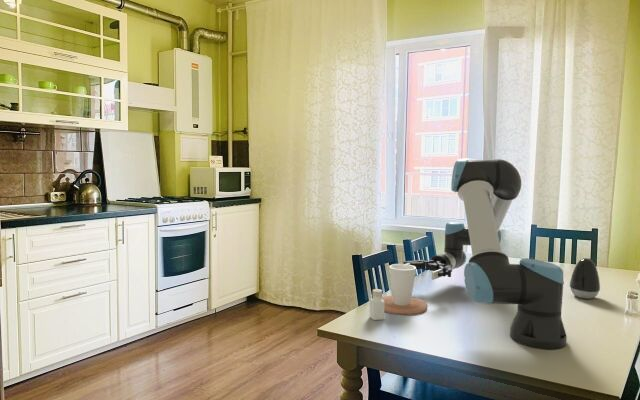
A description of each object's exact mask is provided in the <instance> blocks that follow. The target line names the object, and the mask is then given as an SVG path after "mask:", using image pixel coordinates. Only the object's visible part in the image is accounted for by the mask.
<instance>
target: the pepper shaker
mask: <svg viewBox="0 0 640 400" xmlns="http://www.w3.org/2000/svg"><path fill="white" fill-rule="evenodd" d="M371 296H372V298H370V299H369V317H370V318H371V319H372V320H373V321H380V320H384V319H385V312H384V306H385V302H384V300H383V299H382V297H383V289H380V288H374V289H372V295H371Z"/></svg>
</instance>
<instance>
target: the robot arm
mask: <svg viewBox="0 0 640 400" xmlns="http://www.w3.org/2000/svg"><path fill="white" fill-rule="evenodd" d="M450 185H451V186H450V187H451V188H450V189H451V191H452V192H455V193H457V196H458V199H460V200H461V201H463V205H464V210H465V211H464V212H465V217H466V223H467V226H466V227H465V224H464V222H460V221H448V222H446V223H445V229H444V251H443V252H442V253H440V254H436V255H434V256H432V257H431V259H430V260H424V259H418V260H407V261H403V262H402V264H407V265H412V266H415V267H416V270H423V271H431V280H433V281H434V280H436V279H438V278H442V277H446V276H447V277H448V278H451V277H452V272H453V270H455V269H458V268H460V267H462V266H464V264H465V263H466V262H467V255H466V252H465V251H464V246H470V248H471V255H472V256H471V257H469V259H468V263H466V264H465V266H464V268H463V270H464V271H463V276H464V285H465V289H466V292H467V295H468V296H469V297H470V299H471V300H472V301H473V302H475V303H481V304H482V303H483V304H486V305H490V304H494V305H495V304H498V305H499V304H501V305H517V311H516V314H515V316H514V318H513V320H512V323H511V325H510V329H509V336H510V338H511V339H512V340H514V341H516V342H517V343H519V344H522V345H525V346H527V347H532V348H535V349H542V350H543V349H545V350H557V349H562V348H564V347H566V346H567V339H568V337H567V332H566V329H565V326H564V322H563V318H562V306H563V294H564V293H563V292H564V285H565V282H564V270H563V269H562V268H561V266H559V265H557V264H554V263H550V262H548V261H544V260H540V259H535V258H534V259H533V258H521V259H520V261H519V263H510V260H509V257H508V255H507V254H506V253H505V252H502V247H501V240H502V233H501V229H500V228H501V226H502V224H503V222H504V219H505V217H506V215H507V213H508V210H509V209H510V206H511V204H512V202H513V200H515V199H516V198H517V197H518V196H519V194H520V193H521V189H522V178H521V175H520V173H519V171H518V169H517V168H516V167H515V165H513V164H512V163H510V162H509V161H507V160H504V159H501V158H496V159H491V158H489V159H488V158H487V159H486V158H467V157H466V158H460V159H457V160H456V161H455V162H454V164H453V168H452V176H451V184H450Z"/></svg>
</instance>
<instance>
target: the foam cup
mask: <svg viewBox="0 0 640 400" xmlns="http://www.w3.org/2000/svg"><path fill="white" fill-rule="evenodd" d="M388 270H389V271H388V273H389V279H390V280H389V281H390V289H391V290H390V291H391V296H392V301H393V303H394V304H396V305H409V304H410V302H411V297H413V290H414V285H415V277H416V275H417V269H416V267H415V266H412V265H407V264H403V263H393V264H391V265H390V264H389V267H388Z"/></svg>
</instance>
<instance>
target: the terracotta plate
mask: <svg viewBox="0 0 640 400" xmlns="http://www.w3.org/2000/svg"><path fill="white" fill-rule="evenodd" d="M382 299H383V300H384V302H385V306H384V313H388V314H391V315H392V314H393V315H401V316H402V315H403V316H411V315H413V316H414V315H420V314H423V313H424V312H427V310H428V303H427V302H426V301H425V300H423V299H420V298H418V297H413V296H412V297H411V302H410V304H409V305H396V304H394V303H393V301H392V295H387V296H386V295H385V296H382Z"/></svg>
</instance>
